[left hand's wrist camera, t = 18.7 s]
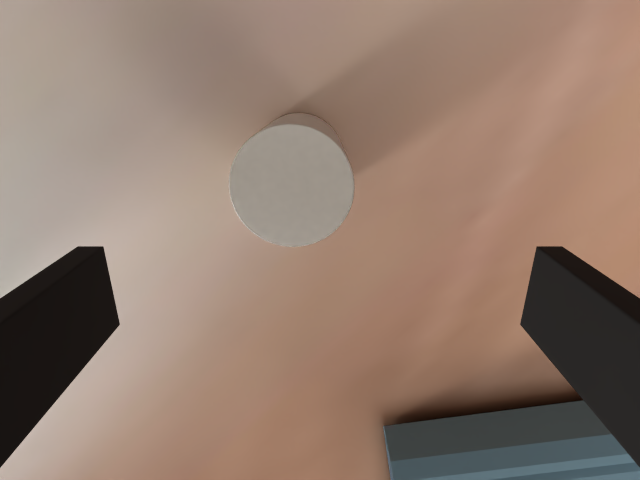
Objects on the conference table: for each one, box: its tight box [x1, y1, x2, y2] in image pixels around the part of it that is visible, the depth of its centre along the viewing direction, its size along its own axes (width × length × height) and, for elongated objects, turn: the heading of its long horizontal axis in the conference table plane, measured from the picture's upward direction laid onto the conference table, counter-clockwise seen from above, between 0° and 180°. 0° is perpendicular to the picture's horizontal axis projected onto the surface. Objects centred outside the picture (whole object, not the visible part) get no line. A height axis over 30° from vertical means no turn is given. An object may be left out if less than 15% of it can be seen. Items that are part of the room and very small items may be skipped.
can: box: [229, 113, 354, 247], centre depth 22 cm, size 6×6×8 cm
